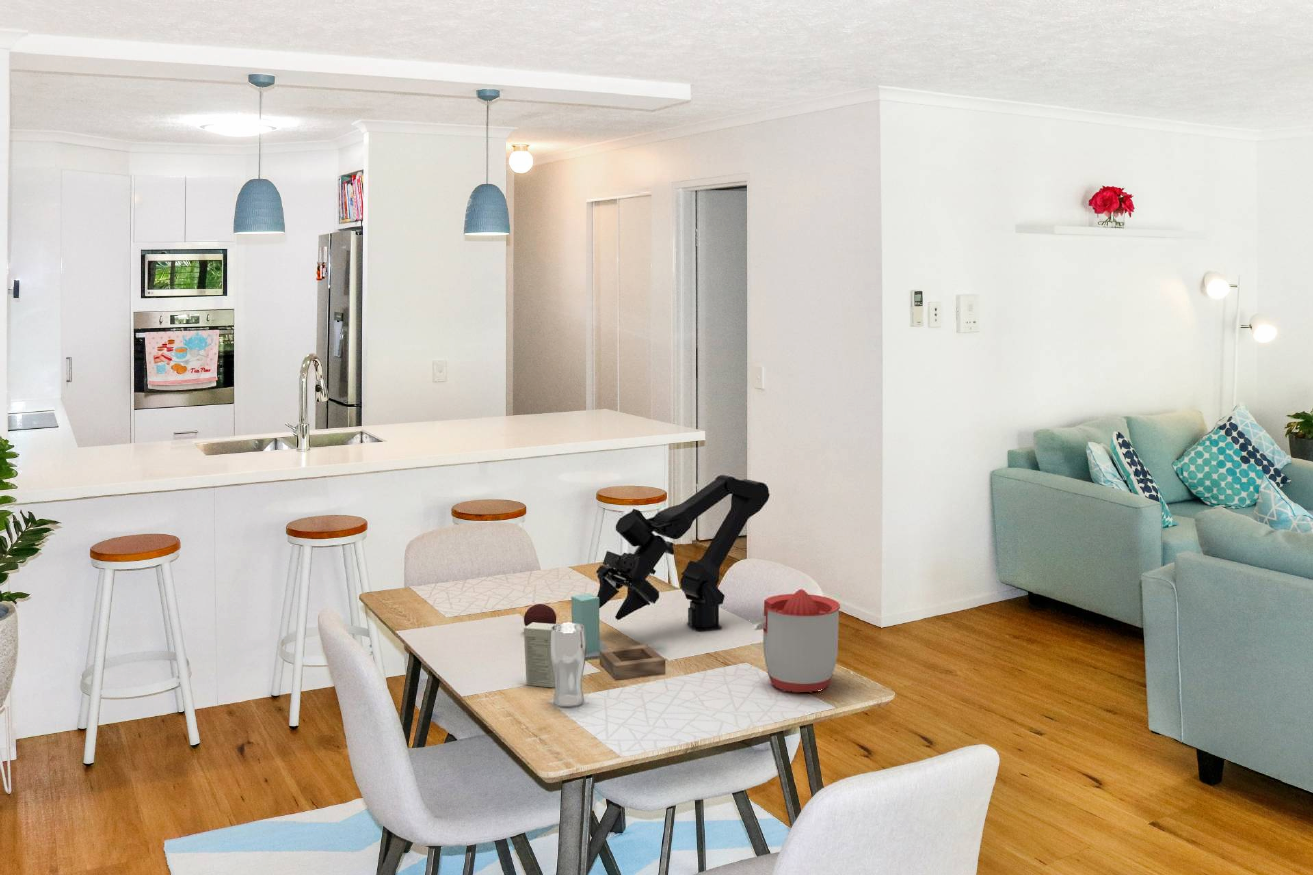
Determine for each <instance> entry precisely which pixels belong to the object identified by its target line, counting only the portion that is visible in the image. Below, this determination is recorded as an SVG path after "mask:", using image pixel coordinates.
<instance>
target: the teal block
mask: <svg viewBox="0 0 1313 875" xmlns="http://www.w3.org/2000/svg"><path fill="white" fill-rule="evenodd" d="M570 602H571V607H570V608H571V623H578V624H581V625H583V626H584V627H585V638H586V653H589V652H594V651H599V650H600V640H601V638H600V637H601V636H600V634H601V632H600V629H601V628H600V609H599V597H597V595H594V594H591V593H584V594H583V593H582V594H576V595H573V596H571V599H570Z"/></svg>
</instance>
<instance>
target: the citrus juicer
mask: <svg viewBox="0 0 1313 875" xmlns="http://www.w3.org/2000/svg"><path fill="white" fill-rule="evenodd" d="M763 603H764V604H763V616H760V617H758V618H756V620H755V622H754V624H753V631H760V630H763V633H762V634H763V640H762V642H763V643H762V644H763V646H762V648H763V658H764V663H765V667H766V670H767V671H766V672H767V675H768V677H769V681H770V682H771V684H772V685H773V686H774V687H775V688H777V689H779V688H780V689H779V690H781V691H782V690H785V691H788V692H790V691H792V692H791V693H799V692H809V693H813V692H812V691H818V690H821V689H823V688H825V689H826V687H827V686H828V687H829V685H830V683H831V681H832V678H833V676H834V671H835V668H836V665H837V661H838V660H837V659H838V651H839V650H838V649H839V613H840V608H841V604H840V603H839V602H838V601H837V600H835V599H832V598H831V597H826V596H822V595H817V594H810V593H808V592H806V590H804V589H802V588H800V589H798V590H797V591H796V592H794V593H787V594H786V593H785V594H778V595H773V596H770V597H767V598H765V599H764V602H763ZM828 687H827V688H828ZM823 690H824V689H823ZM785 691H784V692H785Z"/></svg>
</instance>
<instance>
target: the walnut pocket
mask: <svg viewBox="0 0 1313 875" xmlns="http://www.w3.org/2000/svg"><path fill="white" fill-rule="evenodd" d="M599 665H601V667H602V668H603V669H604V670H605V671H606V672H607V673H608V674H609V675H610V676H611V677H612V678H613V679H614V680H615V681H618V680H628V679H633V678H634V679H635V678H641V677H649V676H650V677H651V676H656V675H664V674H666V659H665V658H664V657H663V656H662V655H661V654H659V653H658V652H657V651H656V650H654V649H653V648H652V647H651V646H650V645H649V644H641V645H640V644H639V645H631V646H623V647H622V646H621V647H616V648H609V649H605V650H600V658H599Z"/></svg>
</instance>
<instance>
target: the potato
mask: <svg viewBox="0 0 1313 875" xmlns="http://www.w3.org/2000/svg"><path fill="white" fill-rule="evenodd" d="M523 616H524V617H523V623H524V627H526V626H528V625H529V624H531V623H532V622H535V623H548V624H557V614H556V612H555V610H554V608H553V607H551V606H549V605H547V604H543V603H537V604H534V605H532V606H530V607H529V608H528V609H527V610H526V611H525V613H524V615H523Z"/></svg>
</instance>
